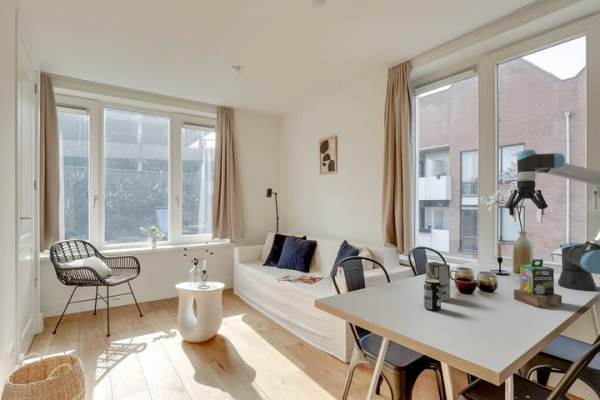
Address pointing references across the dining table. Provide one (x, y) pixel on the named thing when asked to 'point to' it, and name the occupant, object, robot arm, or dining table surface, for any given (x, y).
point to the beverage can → (432, 294)
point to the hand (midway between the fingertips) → (526, 221)
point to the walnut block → (538, 299)
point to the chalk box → (537, 278)
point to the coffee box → (440, 277)
